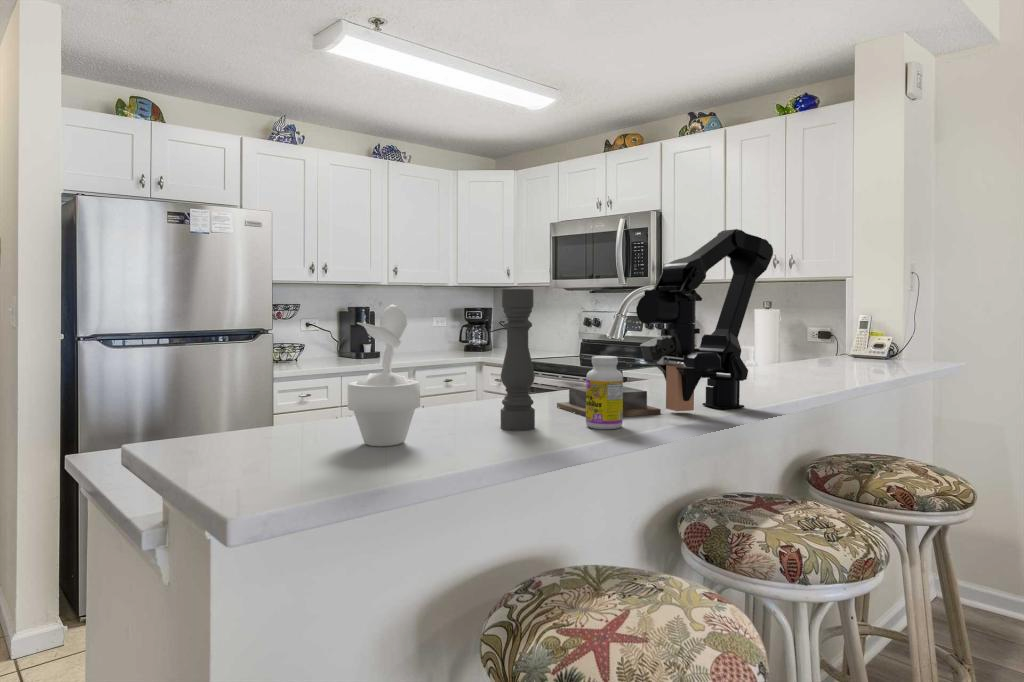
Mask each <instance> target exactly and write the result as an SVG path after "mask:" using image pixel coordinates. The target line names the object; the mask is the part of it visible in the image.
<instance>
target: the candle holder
mask: <svg viewBox="0 0 1024 682" xmlns="http://www.w3.org/2000/svg"><path fill="white" fill-rule="evenodd" d="M501 308H502V310H503V311H502V312H503V313H504V315H505V317H506V320H505V321H504V322H503V324H502V326H503V327H504V328H505V331H506V350H505V354H504V359H503V363H502V367H501V372H500V380H501V381H500V382H501V383H502V384H503V386H504V387H505V390H504V391H505V392H506V395H505V396H504V398H503V399H502V401H501V404H502V405H503V407H501V408H500V429H501V430H505V431H511V432H513V431H514V432H517V431H518V432H520V431H521V432H523V431H530V430H534V429H535V428H536V427H535V423H536V418H535V417H536V412H535V410H536V409H535V408H534V407H532V405H534V400H533V399H532V397H531V395H530V394H529V392H531V389H530V388H531V387H532V385H533V383H534V382H535V375H536V374H535V371H534V366H533V363H532V358H531V357H532V356H531V353H530V348H529V331H530V329H531V328H532V327H533V322H531V321H530V320H529V318H530V317H531V314H532V312H533V308H534V289H533V288H531V289H530V288H529V289H528V288H526V289H525V288H508V289H506V288H505V289H501Z"/></svg>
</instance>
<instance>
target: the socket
mask: <svg viewBox="0 0 1024 682" xmlns="http://www.w3.org/2000/svg"><path fill="white" fill-rule="evenodd" d="M558 407H560V408H559V409H561V408H563V409H562V410H564V409H566V410H565V411H567V410H569V411H568V412H570V411H572V412H571V413H573V412H575V413H574V414H576V413H577V414H576V415H579V414H580V416H582V417H585V418H586V386H575V387H574V386H572V387H569V388H568V401H562V402H556V408H558ZM661 412H662V411H661V408H658V407H654V406H650V405H648V391H647V390H642V389H637V388H633V387H629V386H628V387H627V386H624V385H623V417H634V416H647V415H649V416H650V415H661Z"/></svg>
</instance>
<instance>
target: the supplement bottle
mask: <svg viewBox="0 0 1024 682" xmlns="http://www.w3.org/2000/svg"><path fill="white" fill-rule="evenodd" d="M618 360H619V359H618V356H616V355H614V356H613V355H596V356H594V355H593V356H591V364H592V369H591V370H589V371H588V372H587V374H586V378H585V379H586V380H585V382H586V384H585V385H586V386H585V387H586V417H585V423H586V424H585V425H586V426H587V427H588V428H591V429H594V430H603V431H605V430H616V429H617V430H618V429H620V428H621V427H622V426H623V420H624V419H623V418H624V416H623V386H624V376H623V373H622V372H621V371H620V370H618V369H617V366H618V363H619V361H618Z"/></svg>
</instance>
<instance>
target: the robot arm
mask: <svg viewBox="0 0 1024 682" xmlns="http://www.w3.org/2000/svg"><path fill="white" fill-rule="evenodd" d="M773 256H774V248H773V245H772V244H771V243H769V241H768V239H765V238H762V237H759V236H756V235H753V234H749V233H746V232H745V231H743V230H742V229H738V228H734V229H726V230H725V229H724V230H722V231H720V232H718V233H717V235H716V236H715V237H713V238H712V239H711V240H709V241H708V242H706V243H705V244H704V245H702V246H700V248H698V249H697V250H696V251H694V252H693V253H692V254H689V255H688V256H685V257H681V258H678V259H675V260H672V261H670V262H667V263H666V264H664V266H663V267H662V270H661V273H660V274H659V277H658V279H657V281H656V283H655V285H654V287H653V289H652V288H649V289H644V294H643V296H642V297H641V298H640V299H639V300H638V303H637V305H636V308H635V310H636V315H637V318H638V320H639V321H640V322H642V324H645V325H663V324H665V325H666V327H664V328H663V327H662V328H661V330H660V336H657V337H654V338H652V339H650V340H649V339H648V340H647V341H645V342H643V343H641V344H640V345H639V347H640V350H641V352H642V353H641V354H642V356H643V361H644V362H648V363H649V362H650V363H653V362H656V363H653V366H654V367H656V368H657V369H658V370H660V371H661V373H662V374H663V376H664V377H663V378H664V379H665V380H664V381H666V365H684V367H676V369H677V370H678V371H679V373H680V374H681V376H682V392H683V400H684V401H689V400H690V398H691V396H692V394H693V392H694V393H695V390H696V387H697V386H698V383H699V382H700V380H701V379H706V378H707V380H706V381H707V382H706V383H707V384H706V385H705V402H702V406H705V407H709V408H714V409H719V410H726V409H727V410H728V409H741V408H745V405H744V404H740V397H741V395H740V392H741V391H740V389H741V388H740V387H741V386H740V385H741V384H740V383H741V382H743V381H746V380H747V378H748V375H749V374H748V373H749V369H748V367H747V366H746V364H745V363H744V361H743V360H742V358H741V354H742V347H741V345H740V341H739V335H740V331H741V327H742V326H743V325H742V324H743V321H744V319H745V315H746V313H747V309H748V305H749V302H750V300H751V297H752V293H753V291H754V286H755V283H756V281H757V280H758V278H759V277H760V276H762V274H764V273H765V271H767V270H768V268H769V266H770V263H771V260H772V259H773ZM726 257H727V258H729V259H730V260H729V263H730V266H731V270H732V273H733V274H732V277H731V279H730V280H731V281H730V283H729V286H728V289H727V293H726V296H725V298H724V302H723V305H722V307H721V311H720V314H719V317H718V321H717V323H716V326H715V330H714V331H713V332H712V333H711V334H703V335H702V337H701V341H700V345H699V347H698V348H696V334H700V328H696V302H701V301H703V297H702V296H701V295H700V294H699V293H697V291H696V289H698V288H699V287H700V285H701V284H702V283H703V282H704V281H706V278H707V272H708V271H709V270H710V269H712V268H713V267H714V266H715V265H718V263H719V262H721V261H722V260H723V259H725V258H726ZM678 362H679V363H678Z"/></svg>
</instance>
